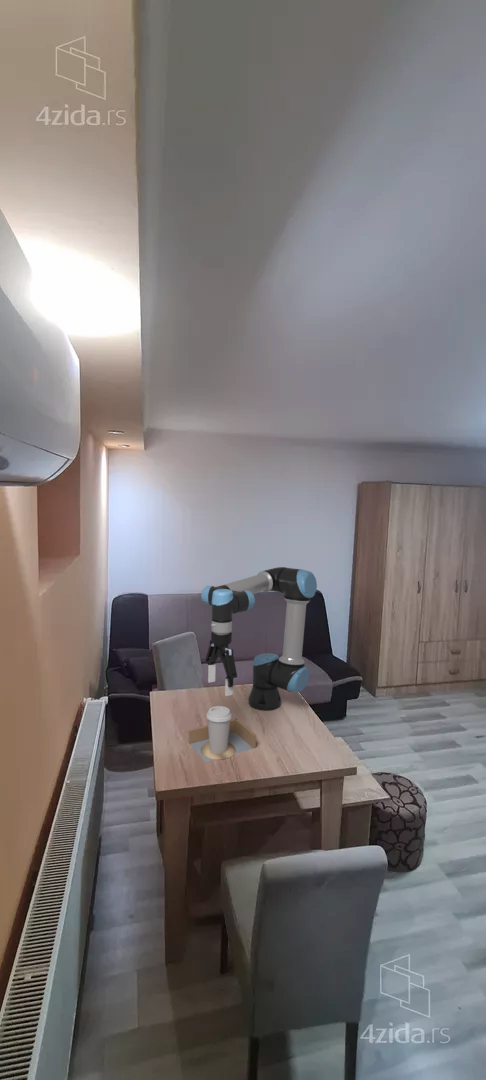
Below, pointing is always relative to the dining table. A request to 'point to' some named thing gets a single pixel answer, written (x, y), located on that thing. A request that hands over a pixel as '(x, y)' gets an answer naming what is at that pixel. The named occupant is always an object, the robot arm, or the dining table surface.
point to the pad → (210, 755)
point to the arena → (237, 737)
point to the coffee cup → (218, 728)
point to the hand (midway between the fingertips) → (220, 688)
